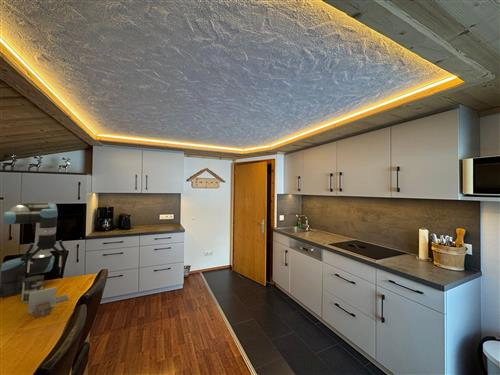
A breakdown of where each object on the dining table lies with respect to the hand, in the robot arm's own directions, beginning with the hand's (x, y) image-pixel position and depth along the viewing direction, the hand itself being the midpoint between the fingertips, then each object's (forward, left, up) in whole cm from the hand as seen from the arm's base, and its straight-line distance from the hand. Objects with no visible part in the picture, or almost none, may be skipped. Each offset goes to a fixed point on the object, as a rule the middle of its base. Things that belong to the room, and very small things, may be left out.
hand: (44, 269), depth 123 cm
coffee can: (-29, -3, -28) cm, 41 cm away
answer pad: (-15, +10, -28) cm, 33 cm away
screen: (-8, +1, -28) cm, 29 cm away
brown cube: (-1, +1, -28) cm, 28 cm away
